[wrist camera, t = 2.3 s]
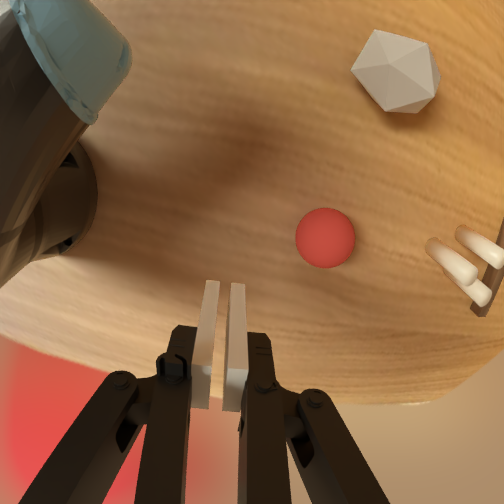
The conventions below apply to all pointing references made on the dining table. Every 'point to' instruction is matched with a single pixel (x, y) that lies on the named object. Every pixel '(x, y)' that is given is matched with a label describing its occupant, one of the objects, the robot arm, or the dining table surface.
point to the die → (397, 72)
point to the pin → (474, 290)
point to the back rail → (491, 280)
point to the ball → (325, 238)
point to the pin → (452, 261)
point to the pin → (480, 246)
